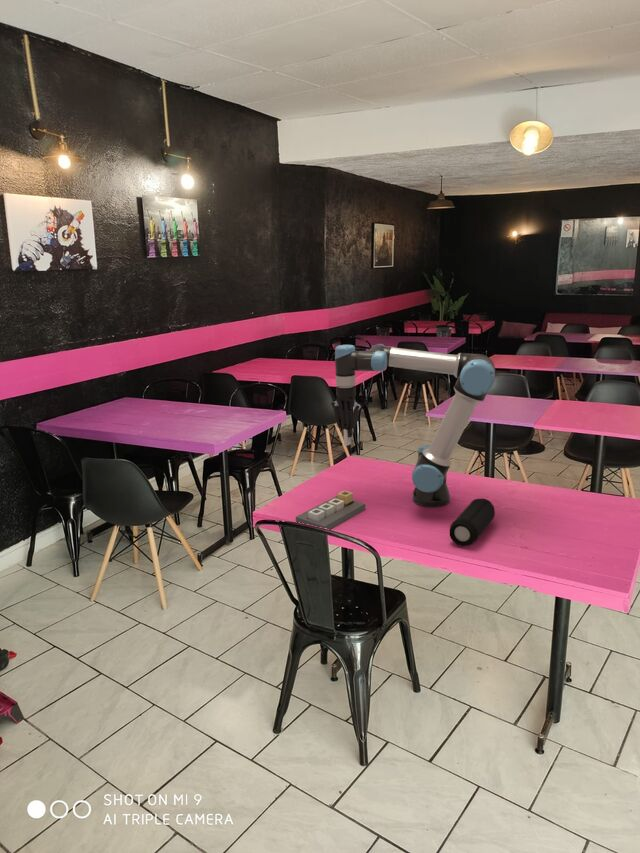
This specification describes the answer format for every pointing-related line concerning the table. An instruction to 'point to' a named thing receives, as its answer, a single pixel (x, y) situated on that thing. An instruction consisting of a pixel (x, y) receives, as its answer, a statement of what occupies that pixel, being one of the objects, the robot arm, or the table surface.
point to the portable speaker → (472, 522)
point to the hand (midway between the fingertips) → (347, 444)
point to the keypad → (333, 515)
